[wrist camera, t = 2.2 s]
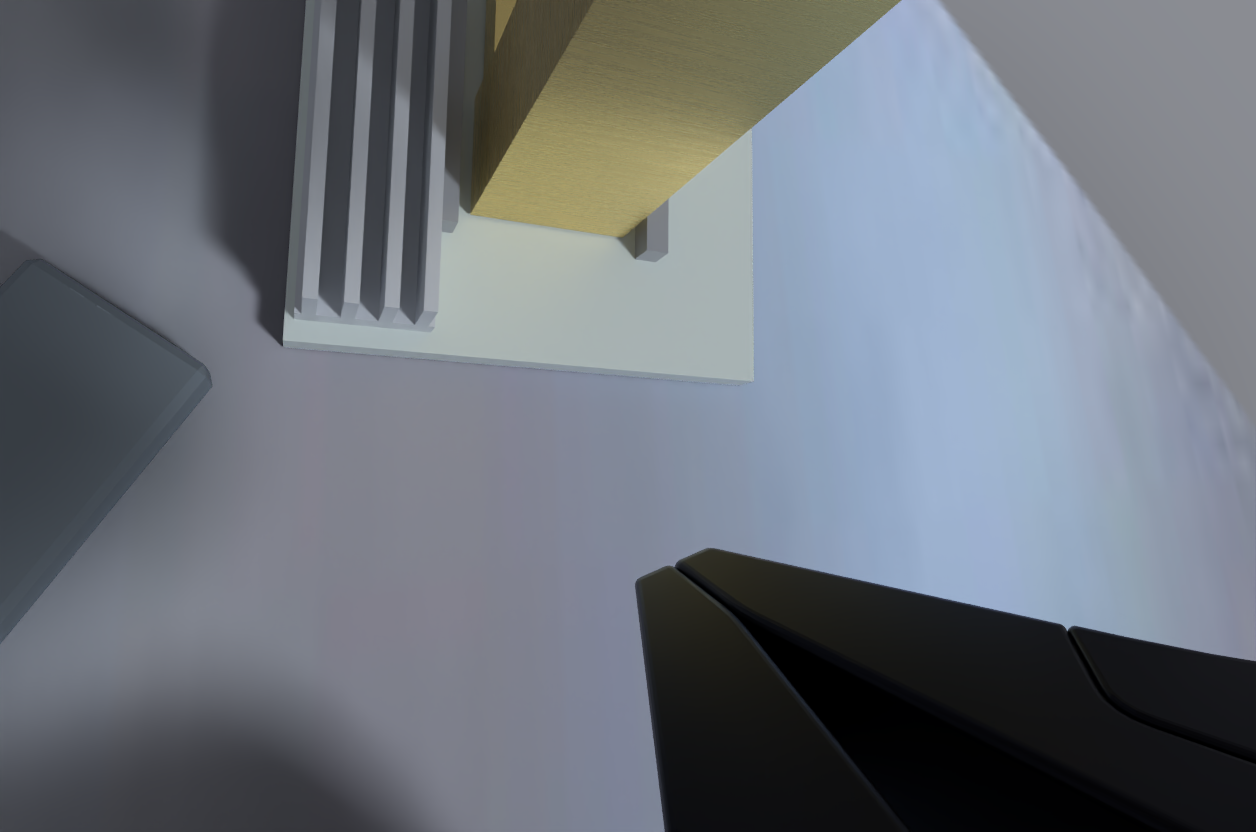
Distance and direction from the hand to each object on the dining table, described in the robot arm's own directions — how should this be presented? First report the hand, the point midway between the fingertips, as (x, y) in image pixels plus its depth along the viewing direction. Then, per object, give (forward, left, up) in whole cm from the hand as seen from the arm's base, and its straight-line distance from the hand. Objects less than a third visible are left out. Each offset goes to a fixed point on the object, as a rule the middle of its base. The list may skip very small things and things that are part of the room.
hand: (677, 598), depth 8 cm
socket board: (+12, -5, -13) cm, 18 cm away
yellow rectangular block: (+10, -5, -12) cm, 16 cm away
